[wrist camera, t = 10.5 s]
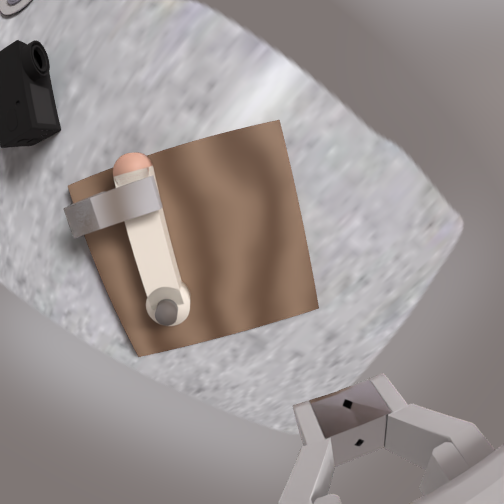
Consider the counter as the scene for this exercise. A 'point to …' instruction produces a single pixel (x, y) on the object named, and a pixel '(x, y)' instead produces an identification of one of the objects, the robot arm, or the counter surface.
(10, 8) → the bracket
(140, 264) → the link
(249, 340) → the counter surface
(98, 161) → the counter surface
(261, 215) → the pivot base
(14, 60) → the digital camera
